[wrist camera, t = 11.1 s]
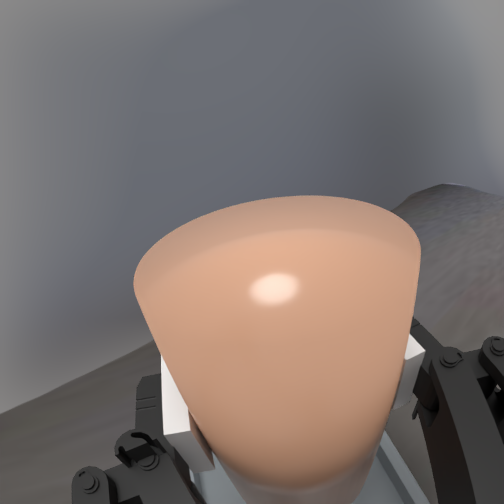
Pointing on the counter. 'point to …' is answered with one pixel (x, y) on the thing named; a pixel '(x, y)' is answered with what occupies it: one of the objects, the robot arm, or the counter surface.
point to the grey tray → (369, 500)
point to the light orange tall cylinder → (286, 337)
